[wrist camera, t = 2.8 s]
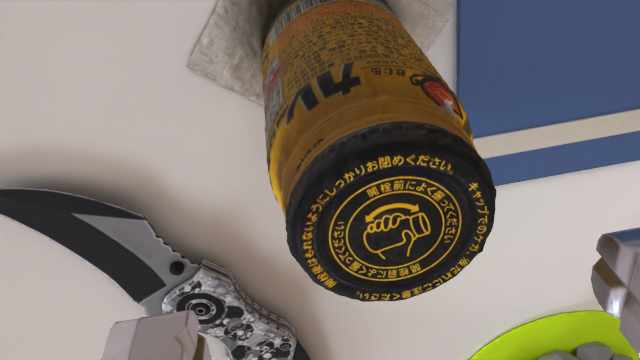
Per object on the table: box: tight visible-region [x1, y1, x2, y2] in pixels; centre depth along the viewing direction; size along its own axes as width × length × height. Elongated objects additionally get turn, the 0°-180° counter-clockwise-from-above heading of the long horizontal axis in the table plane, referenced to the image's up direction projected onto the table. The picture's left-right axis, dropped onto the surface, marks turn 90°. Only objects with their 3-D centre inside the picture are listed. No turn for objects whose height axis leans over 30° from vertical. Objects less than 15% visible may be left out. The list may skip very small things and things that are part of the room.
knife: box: [0, 187, 310, 360], centre depth 31 cm, size 28×2×10 cm
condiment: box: [186, 0, 496, 301], centre depth 17 cm, size 7×8×12 cm
